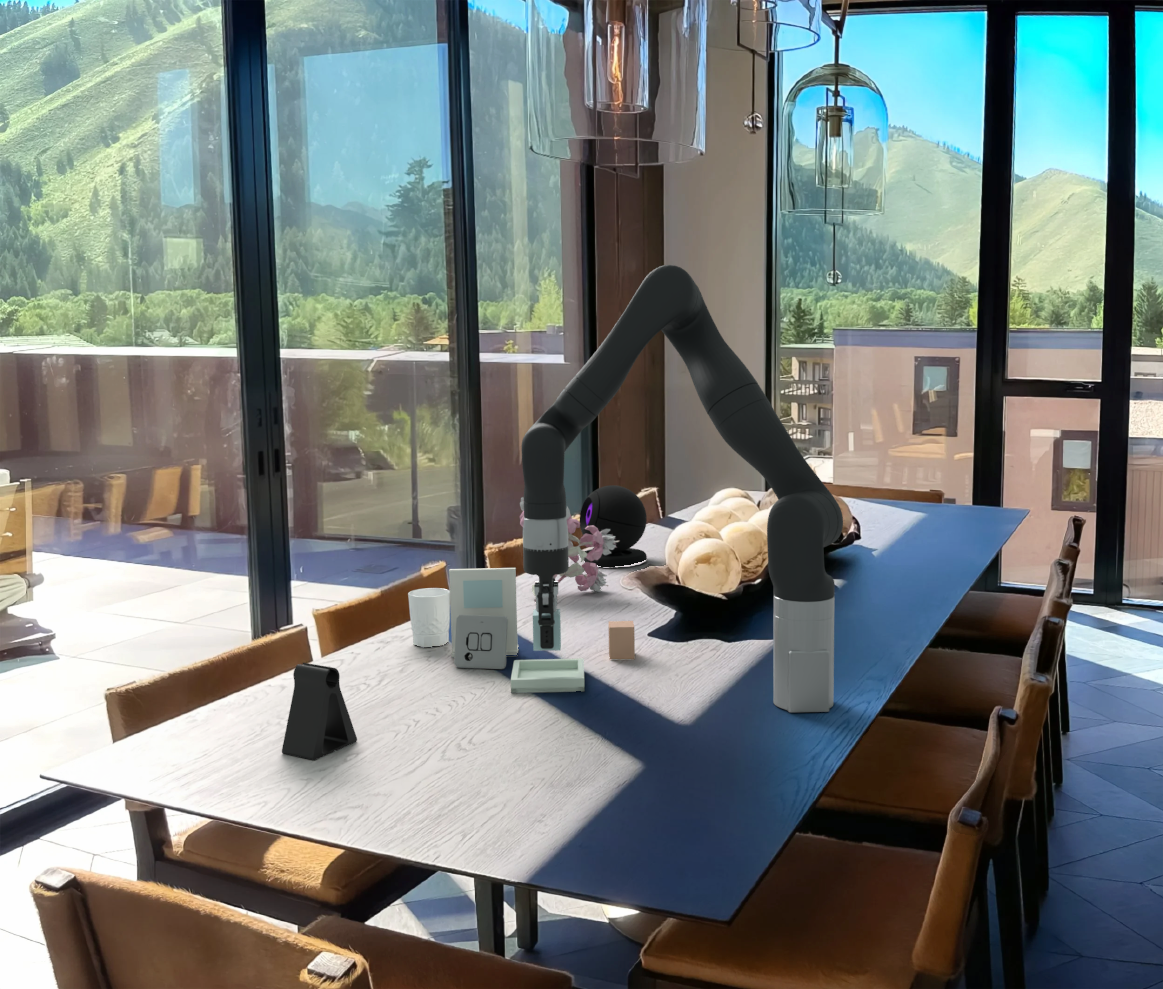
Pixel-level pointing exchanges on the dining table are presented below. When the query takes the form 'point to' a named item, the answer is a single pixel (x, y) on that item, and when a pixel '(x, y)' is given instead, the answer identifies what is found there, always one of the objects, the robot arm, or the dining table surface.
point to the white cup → (430, 616)
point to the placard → (485, 598)
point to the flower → (583, 553)
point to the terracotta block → (621, 640)
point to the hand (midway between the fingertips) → (547, 643)
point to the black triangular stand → (317, 714)
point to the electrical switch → (481, 641)
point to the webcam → (616, 523)
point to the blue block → (537, 631)
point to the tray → (547, 675)
